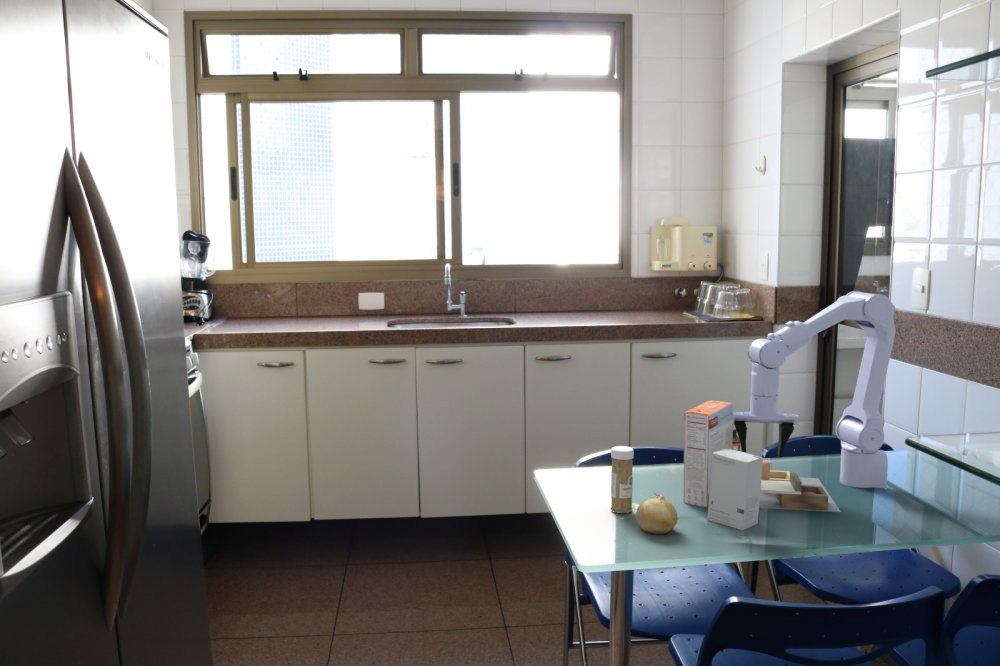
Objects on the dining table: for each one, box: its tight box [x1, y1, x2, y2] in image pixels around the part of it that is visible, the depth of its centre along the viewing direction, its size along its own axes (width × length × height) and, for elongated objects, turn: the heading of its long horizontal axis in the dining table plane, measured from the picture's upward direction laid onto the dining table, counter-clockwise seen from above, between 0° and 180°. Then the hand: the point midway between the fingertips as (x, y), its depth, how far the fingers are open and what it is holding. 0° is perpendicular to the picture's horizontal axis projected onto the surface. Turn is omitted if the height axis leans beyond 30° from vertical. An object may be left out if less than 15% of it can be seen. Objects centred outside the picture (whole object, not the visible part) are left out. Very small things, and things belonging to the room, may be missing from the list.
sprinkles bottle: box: [610, 445, 634, 514], centre depth 175 cm, size 5×5×14 cm
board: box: [759, 469, 842, 513], centre depth 184 cm, size 16×23×3 cm
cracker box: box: [682, 399, 734, 509], centre depth 181 cm, size 14×6×21 cm, turn 145°
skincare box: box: [706, 449, 764, 531], centre depth 166 cm, size 8×6×15 cm
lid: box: [760, 471, 802, 495], centre depth 177 cm, size 8×7×3 cm
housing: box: [776, 485, 828, 511], centre depth 177 cm, size 9×7×3 cm
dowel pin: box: [761, 459, 771, 481], centre depth 186 cm, size 4×4×6 cm
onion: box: [635, 491, 679, 535], centre depth 165 cm, size 8×8×7 cm
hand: (761, 455), depth 186 cm, fingers open, 7 cm apart
